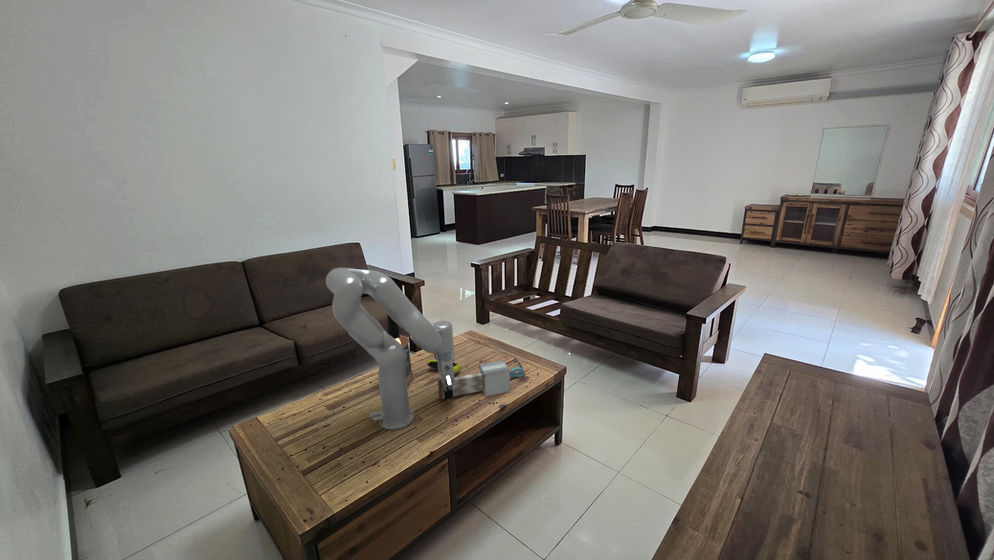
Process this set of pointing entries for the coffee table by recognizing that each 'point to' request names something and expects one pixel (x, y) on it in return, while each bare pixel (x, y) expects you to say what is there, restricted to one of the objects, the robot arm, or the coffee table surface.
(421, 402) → the coffee table surface
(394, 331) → the whiskey bottle
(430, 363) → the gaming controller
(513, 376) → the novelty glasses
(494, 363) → the block
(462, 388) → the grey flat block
